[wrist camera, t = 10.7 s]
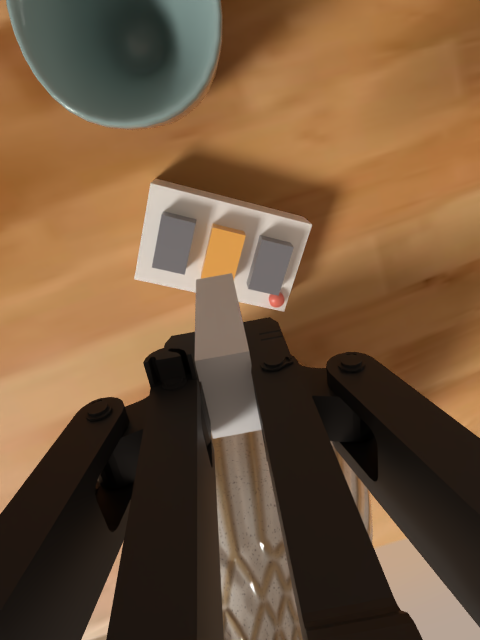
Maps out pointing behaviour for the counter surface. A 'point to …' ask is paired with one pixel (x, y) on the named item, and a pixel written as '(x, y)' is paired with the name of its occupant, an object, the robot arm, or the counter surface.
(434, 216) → the counter surface
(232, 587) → the vase
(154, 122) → the cup
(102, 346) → the counter surface
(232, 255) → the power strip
